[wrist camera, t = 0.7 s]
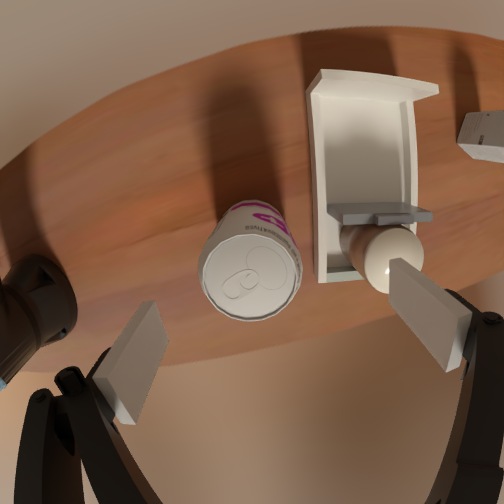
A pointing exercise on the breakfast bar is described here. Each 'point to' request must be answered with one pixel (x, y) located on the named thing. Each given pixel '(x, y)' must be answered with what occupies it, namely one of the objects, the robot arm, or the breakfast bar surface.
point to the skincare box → (483, 135)
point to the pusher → (378, 213)
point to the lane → (359, 152)
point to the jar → (379, 250)
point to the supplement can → (250, 263)
